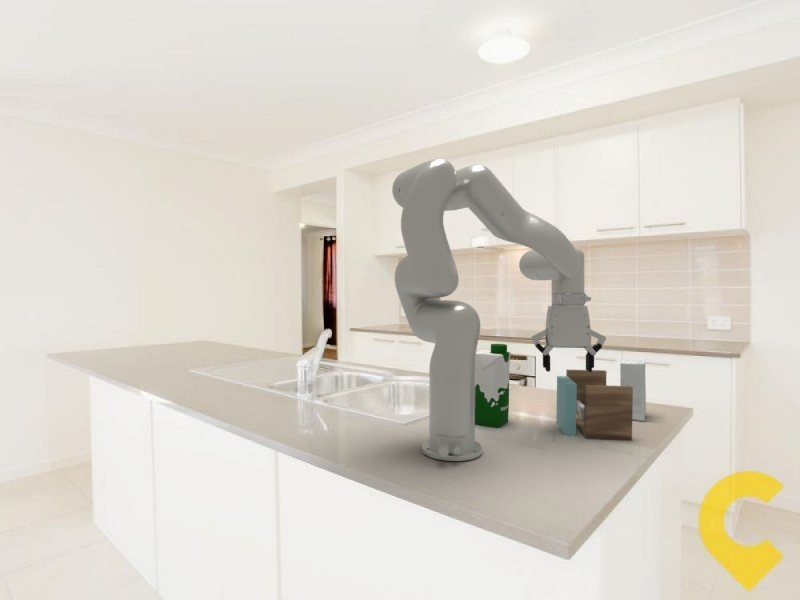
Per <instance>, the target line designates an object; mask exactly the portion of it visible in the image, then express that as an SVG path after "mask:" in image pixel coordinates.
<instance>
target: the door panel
mask: <svg viewBox="0 0 800 600" xmlns="http://www.w3.org/2000/svg"><path fill="white" fill-rule="evenodd" d="M576 398H577V384H576V383H575V382H573V381H572V380H571V379H570V378H569V377H568V376H565V375H564V376H563V375H557V376H556V417H555V418H556V421H555V422H556V425H557V424H558V425H557V426H558V428H559V429H560V431H561V432H562V434H563V435H564V436H573V435H574V436H575V435H576V436H577V427H576ZM574 436H573V437H574Z"/></svg>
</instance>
